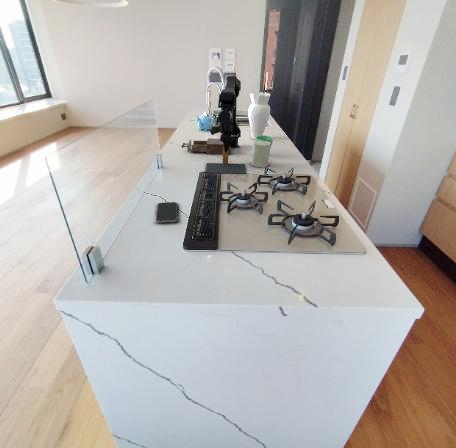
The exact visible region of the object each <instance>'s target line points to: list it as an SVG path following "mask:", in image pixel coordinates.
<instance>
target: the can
mask: <svg viewBox="0 0 456 448" xmlns="http://www.w3.org/2000/svg"><path fill="white" fill-rule="evenodd" d="M270 145H271V143H270V142H267V141H256V140H253V142H252V155H251V163H250V164H251V165H252V166H253V167H257V168H266V167H268V166H269V165H270V163H269V161H270V152H271V148H270ZM271 146H272V145H271Z"/></svg>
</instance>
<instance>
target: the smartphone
mask: <svg viewBox="0 0 456 448" xmlns="http://www.w3.org/2000/svg"><path fill="white" fill-rule="evenodd" d="M177 221H178V203H177V201H176V202H175V201H171V202H170V201H167V202H158V204H157V209H156V216H155V222H156V223H157V224H158V223H160V224H161V223H176V222H177Z"/></svg>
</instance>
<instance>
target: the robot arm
mask: <svg viewBox="0 0 456 448" xmlns="http://www.w3.org/2000/svg"><path fill="white" fill-rule="evenodd" d="M241 90H242V82H241V80H240V79H238V76H235V75H228V76H226V79H225V80H224V88H223V89H221V91H220V93H219V94H218V103H217V108H218V109H220V112H219V113H218V115H217V118H218V121H219V122H220V123H219V124H215V125H213V126H212V127H210V130H209V132H210V135H211V136H214V135H216V134H219V133H220V135H219V139H220V141H222V142H223V144H224V149H225V152H227V151H228V148H229V146H230V149H235V148H240V145H239V139H240V138H241V137H242V130H241V127H240V124H239V122H238V120H237V111H238V110H237V109H238V108H237V106H238V105H237V104H238V103H237V101H238V100H237V99H238V97H239V96H240V91H241Z"/></svg>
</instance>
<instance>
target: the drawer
mask: <svg viewBox="0 0 456 448" xmlns="http://www.w3.org/2000/svg"><path fill="white" fill-rule="evenodd" d="M192 143H193V144H192ZM183 148H187V153H190V152H201V153H202V152H205V153H207V140H197V139H196V140H193V141H192V139H189V140H188V143H185V142H182V144H181V149H183Z"/></svg>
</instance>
